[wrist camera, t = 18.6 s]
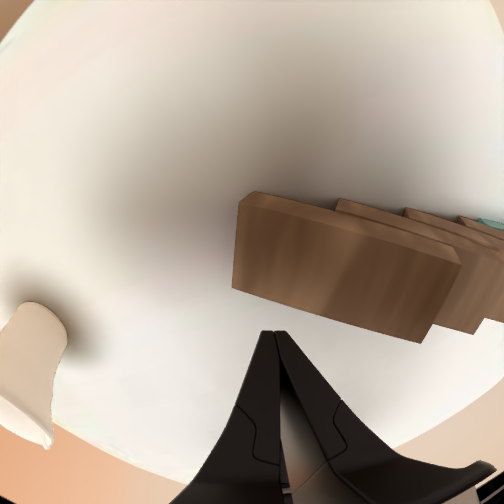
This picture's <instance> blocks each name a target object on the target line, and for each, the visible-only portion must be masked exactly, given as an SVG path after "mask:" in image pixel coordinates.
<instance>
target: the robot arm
mask: <svg viewBox="0 0 504 504" xmlns="http://www.w3.org/2000/svg"><path fill="white" fill-rule="evenodd" d="M496 471H497V469H496V468H494V466H493V465H491V464H489V463H487V462H484V461H481V460H479V461H476V462H475V463H473V464H471V465H469V466H467V467H465V468H458V469H454V468H447V467H443V466H438V465H434V464H429V463H426V462H421V461H418V460H414V459H410V458H407V457H404V456H402V455H400V454H398V453H397V452H395V451H394V450H393V449H391V448H390V447H389V446H388V445H387V444H386V443H384V442H383V441H382V440H381V439H380V438H379V437H378V436H377V435H376V434H375V433H373V432H372V431H371V430H370V429H369V428H368V427H367V426H366V425H365V424H364V423H363V422H362V421H361V420H360V419H359V418H358V417H357V416H356V415H355V414H354V413H353V412H352V411H351V409H350V408H349V407H348V406H347V405H346V404H345V402H344V401H343V400H341V398H340V397H339V395H338V394H337V393H336V392H335V391H334V389H333V388H332V387H331V386H330V384H329V383H328V382H327V381H326V380H325V378H324V377H323V376H322V375H321V374H320V372H319V371H318V370H317V369H316V367H315V366H314V365H313V364H312V362H311V361H310V360H309V359H308V358H307V356H306V355H305V354H304V353H303V351H302V350H301V349H300V348H299V346H298V345H297V344H296V343H295V341H294V340H293V339H292V338H291V337H290V335H289V334H288V333H287V332H286V331H274V332H273V331H264V330H263V331H261V333H260V336H259V339H258V342H257V345H256V347H255V350H254V353H253V356H252V359H251V362H250V364H249V367H248V370H247V373H246V375H245V378H244V381H243V384H242V386H241V389H240V392H239V394H238V397H237V400H236V402H235V406H234V407H233V410H232V413H231V415H230V418H229V420H228V422H227V425H226V427H225V429H224V431H223V432H222V434H221V436H220V438H219V440H218V441H217V443H216V445H215V446H214V448H213V450H212V451H211V453H210V455H209V456H208V458H207V459H206V461H205V463H204V464H203V466H202V467H201V469H200V470H199V472H198V473H197V475H196V476H195V477H194V479H193V480H192V481H191V482H190V483H189V484H188V485H187V486H186V487H185V488H184V489H183V491H181V492H180V493H179V495H177V496H176V497H175V498H174V499H173V500H172V501H171V502H170V503H169V504H504V471H503V472H501V473H500V474H498V475H497V476H495V477H494V478H492V479H491V480H489V481H488V482H486V483H485V484H483V485H481V486H480V487H478V488H477V489H476V488H475V485H476V484H478V483H479V482H481V481H483V480H484V479H486V478H487V477H488V476H490V475H491V474H493V473H494V472H496ZM0 504H16V503H14V502H12V501H10V500H9V499H7V498H5V497H3V496H1V495H0Z"/></svg>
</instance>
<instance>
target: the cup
mask: <svg viewBox="0 0 504 504" xmlns="http://www.w3.org/2000/svg"><path fill="white" fill-rule="evenodd" d="M67 343H68V341H67V333H66V330H65V327H64V325H63V324H62V323H61V321H60V320H59V318H58V317H57V316H56V315H55V314H54V313H52V312H51V311H50V310H49V309H48V308H46V307H44V306H42V305H41V304H38V303H35V302H26V303H23V304H21V305H20V306H19V307H18V309H17V310H16V312H15V313H14V315H13V316H12V318H11V319H10V320H9V321H8V323H7V324H6V325H5V326H4V328H3V329H2V330H1V331H0V425H2V426H3V427H5V428H6V429H8V430H10V431H12V432H13V433H15V434H17V435H18V436H21V437H23V438H25V439H27V440H29V441H32V442H35V443H38V444H41V445H43V447H44V448H45V449H46V450H48V449H51V444H53V441H54V428H53V421H52V413H51V401H52V397H53V381H54V376H55V373H56V370H57V367H58V364H59V362H60V359H61V357H62V355H63V352H64V350H65V348H66V345H67Z"/></svg>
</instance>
